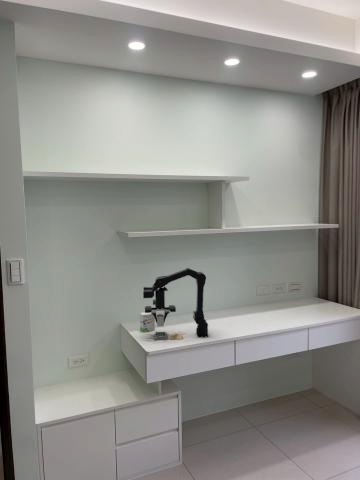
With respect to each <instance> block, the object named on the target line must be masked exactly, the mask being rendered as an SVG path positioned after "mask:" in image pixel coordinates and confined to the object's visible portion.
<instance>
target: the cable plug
mask: <svg viewBox="0 0 360 480" xmlns="http://www.w3.org/2000/svg"><path fill="white" fill-rule="evenodd" d="M156 316H157V323H156V327H161V328H162V327H165V326H164V325H165V322H164V313H163V314H162V313H159V314H156Z"/></svg>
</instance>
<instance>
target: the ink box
mask: <svg viewBox="0 0 360 480" xmlns="http://www.w3.org/2000/svg"><path fill="white" fill-rule="evenodd" d="M139 321H140V322H139V324H140V325H139V326H140V328H139V329H140V332H142V333H147V332H154V331H155V330H156V328H155V327H156V325H155V324H156V323H155V322H156V320H155V317H154V315H153V314H151V312H150V313H145V311H144V312H140V313H139ZM155 332H156V331H155Z"/></svg>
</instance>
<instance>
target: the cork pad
mask: <svg viewBox="0 0 360 480" xmlns="http://www.w3.org/2000/svg"><path fill="white" fill-rule="evenodd" d="M167 337H168V341H169V340H184V336H183V333H167Z"/></svg>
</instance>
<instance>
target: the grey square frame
mask: <svg viewBox="0 0 360 480" xmlns="http://www.w3.org/2000/svg"><path fill="white" fill-rule="evenodd" d="M153 339H154V341H169V339H168V333H166V331H155V333H154V334H153Z"/></svg>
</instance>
